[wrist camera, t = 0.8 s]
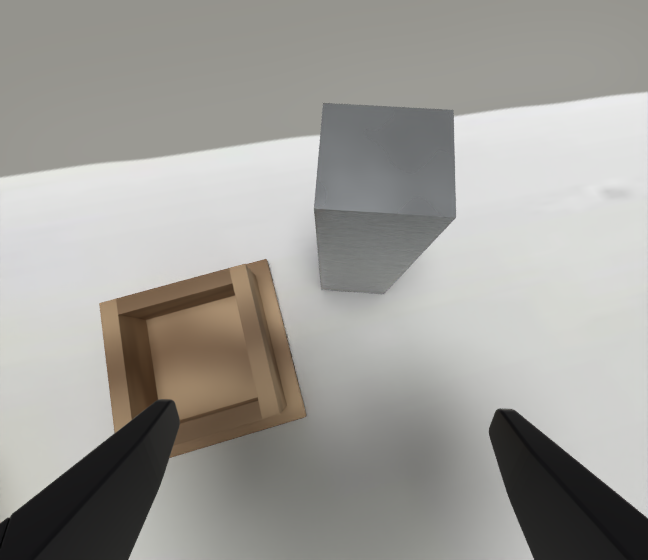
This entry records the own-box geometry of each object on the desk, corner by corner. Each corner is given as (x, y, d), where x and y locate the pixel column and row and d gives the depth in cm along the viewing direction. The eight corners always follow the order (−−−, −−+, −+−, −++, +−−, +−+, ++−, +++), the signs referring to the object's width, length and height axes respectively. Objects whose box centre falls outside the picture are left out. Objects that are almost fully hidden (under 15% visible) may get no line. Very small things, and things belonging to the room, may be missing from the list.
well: (306, 415, 21) (302, 427, 17) (140, 464, 20) (101, 488, 17) (267, 261, 23) (257, 244, 20) (119, 301, 23) (81, 292, 19)
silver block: (383, 294, 23) (455, 217, 10) (321, 289, 23) (313, 208, 10) (385, 241, 23) (453, 110, 11) (325, 237, 24) (323, 102, 11)
